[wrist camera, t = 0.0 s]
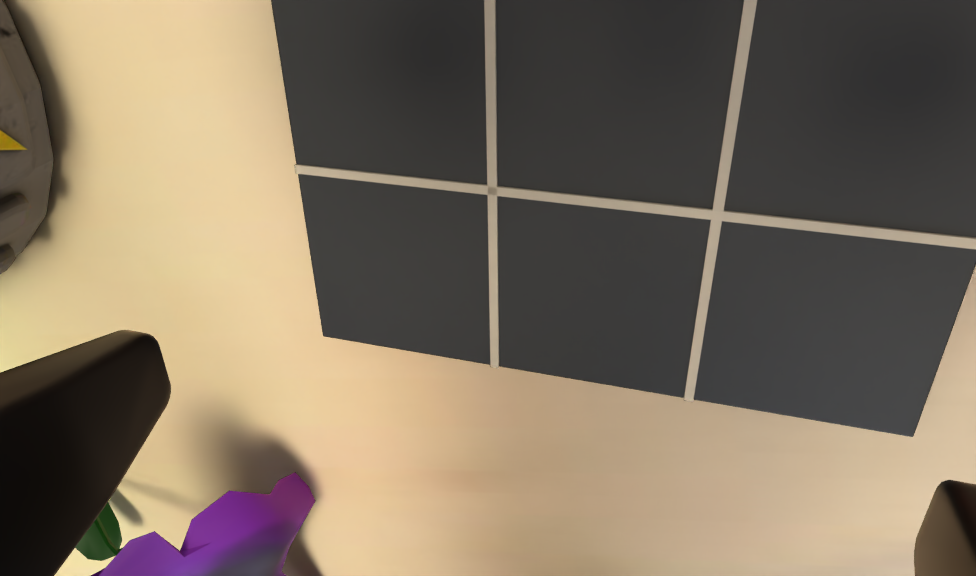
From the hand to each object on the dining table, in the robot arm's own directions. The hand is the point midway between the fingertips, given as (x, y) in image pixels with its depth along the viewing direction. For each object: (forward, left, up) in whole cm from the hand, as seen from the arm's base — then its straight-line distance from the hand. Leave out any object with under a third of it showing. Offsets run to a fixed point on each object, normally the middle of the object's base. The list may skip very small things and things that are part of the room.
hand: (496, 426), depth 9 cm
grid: (0, +1, -15) cm, 15 cm away
